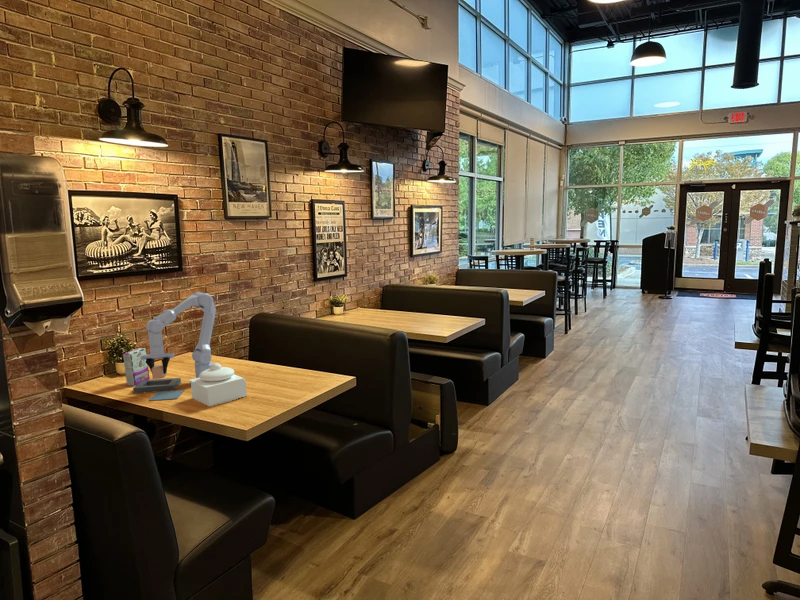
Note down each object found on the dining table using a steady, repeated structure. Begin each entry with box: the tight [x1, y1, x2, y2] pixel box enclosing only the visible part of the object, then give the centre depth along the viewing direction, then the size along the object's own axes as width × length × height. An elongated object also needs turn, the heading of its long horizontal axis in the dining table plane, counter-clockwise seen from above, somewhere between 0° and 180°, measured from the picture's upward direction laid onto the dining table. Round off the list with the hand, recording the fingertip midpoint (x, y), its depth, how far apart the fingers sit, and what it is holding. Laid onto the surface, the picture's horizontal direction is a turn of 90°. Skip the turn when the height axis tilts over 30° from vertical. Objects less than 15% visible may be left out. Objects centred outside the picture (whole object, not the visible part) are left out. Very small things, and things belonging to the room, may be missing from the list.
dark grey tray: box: [132, 377, 182, 394], centre depth 254 cm, size 18×12×2 cm
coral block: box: [151, 364, 168, 380], centre depth 248 cm, size 4×6×5 cm
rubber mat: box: [148, 389, 185, 402], centre depth 242 cm, size 12×12×1 cm
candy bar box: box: [122, 347, 151, 387], centre depth 263 cm, size 11×5×16 cm, turn 168°
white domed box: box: [188, 362, 248, 408], centre depth 236 cm, size 18×18×16 cm
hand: (159, 373), depth 248 cm, fingers closed on coral block, 4 cm apart
